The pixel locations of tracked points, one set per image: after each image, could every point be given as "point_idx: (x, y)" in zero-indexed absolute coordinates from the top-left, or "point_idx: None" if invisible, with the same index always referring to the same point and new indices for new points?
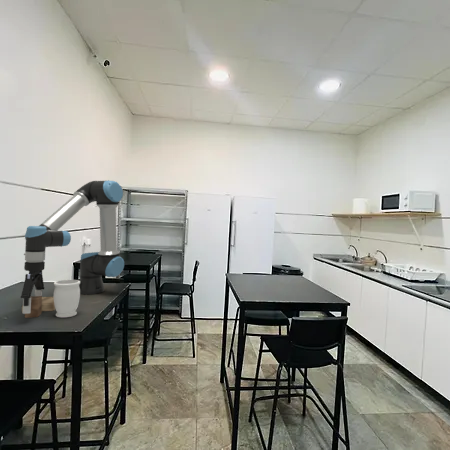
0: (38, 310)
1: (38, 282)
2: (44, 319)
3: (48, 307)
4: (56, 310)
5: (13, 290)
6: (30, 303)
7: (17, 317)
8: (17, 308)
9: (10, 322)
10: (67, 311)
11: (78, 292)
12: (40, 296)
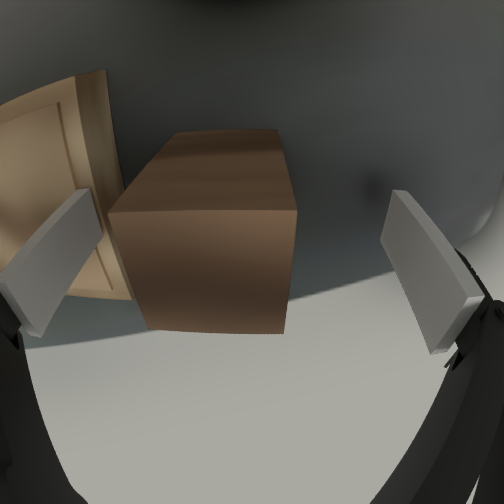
0: (260, 145)
1: (18, 440)
2: (351, 66)
3: (95, 113)
4: None
5: None
6: (446, 246)
7: None
8: (93, 299)
9: (354, 262)
10: None
11: None
12: (132, 223)
